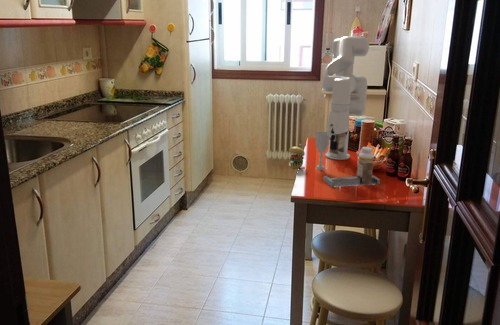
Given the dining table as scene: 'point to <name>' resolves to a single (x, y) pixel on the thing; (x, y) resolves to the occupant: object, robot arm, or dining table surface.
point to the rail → (349, 181)
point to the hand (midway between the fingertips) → (337, 147)
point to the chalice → (321, 146)
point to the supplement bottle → (366, 154)
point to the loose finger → (339, 143)
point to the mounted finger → (365, 170)
